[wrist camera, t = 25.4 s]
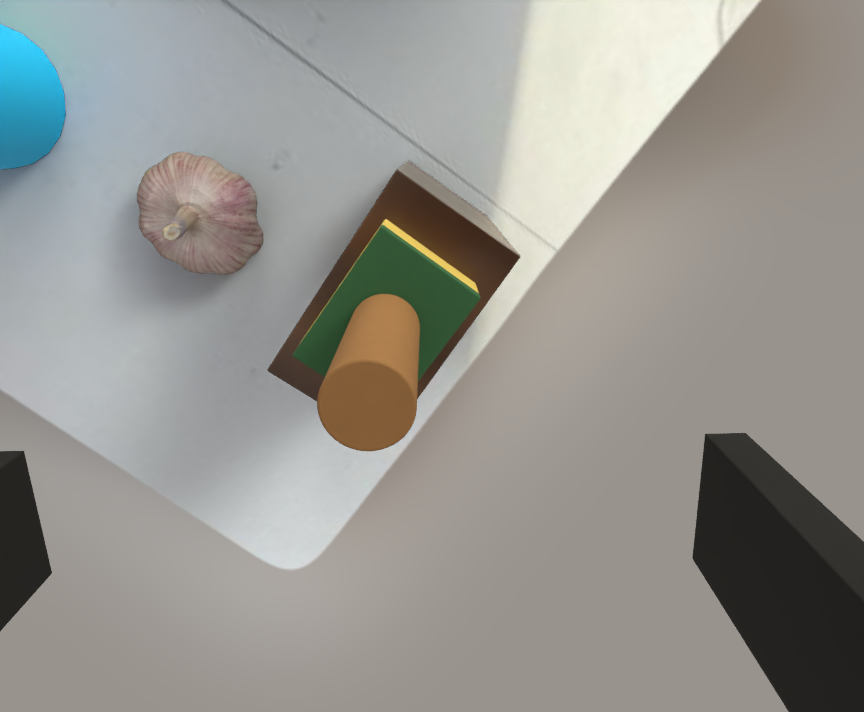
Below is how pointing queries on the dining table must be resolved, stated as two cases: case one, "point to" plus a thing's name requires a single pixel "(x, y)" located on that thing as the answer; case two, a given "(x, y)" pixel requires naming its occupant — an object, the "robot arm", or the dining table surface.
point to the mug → (27, 101)
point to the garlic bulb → (199, 214)
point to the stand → (437, 231)
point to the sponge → (383, 337)
